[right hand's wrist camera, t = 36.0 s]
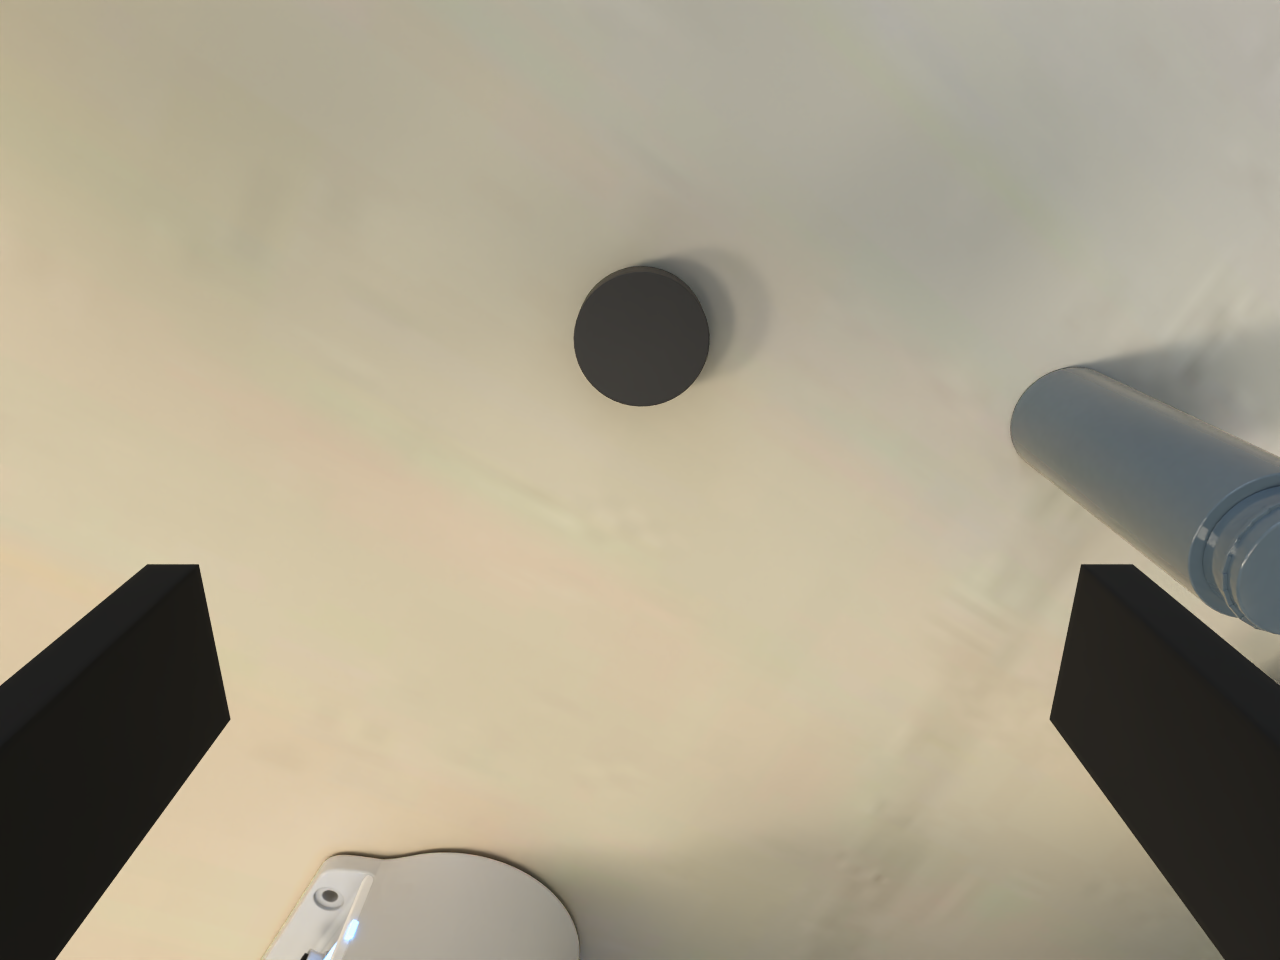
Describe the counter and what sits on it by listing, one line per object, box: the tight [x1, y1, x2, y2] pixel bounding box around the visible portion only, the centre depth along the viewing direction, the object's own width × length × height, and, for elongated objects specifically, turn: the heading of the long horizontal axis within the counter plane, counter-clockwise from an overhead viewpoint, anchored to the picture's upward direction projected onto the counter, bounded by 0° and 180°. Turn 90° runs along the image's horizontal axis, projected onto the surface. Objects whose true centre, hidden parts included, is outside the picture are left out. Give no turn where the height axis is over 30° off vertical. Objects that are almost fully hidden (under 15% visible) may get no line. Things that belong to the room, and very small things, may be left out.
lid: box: [574, 266, 709, 406], centre depth 36 cm, size 6×6×2 cm
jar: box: [1011, 367, 1280, 635], centre depth 32 cm, size 5×5×15 cm
